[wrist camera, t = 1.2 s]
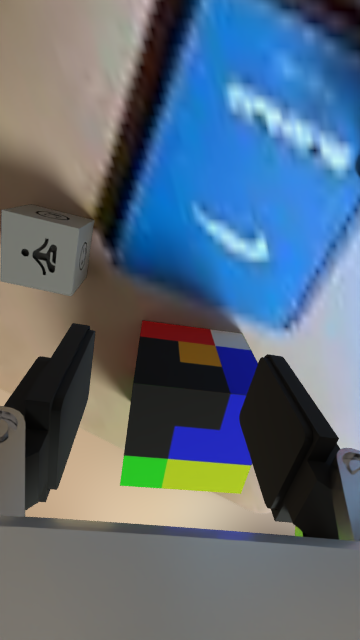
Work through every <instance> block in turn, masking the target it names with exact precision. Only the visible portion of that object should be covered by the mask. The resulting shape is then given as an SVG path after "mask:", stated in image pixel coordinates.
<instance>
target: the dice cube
mask: <svg viewBox="0 0 360 640" xmlns="http://www.w3.org/2000/svg"><path fill="white" fill-rule="evenodd" d="M93 225H94V220H92V219H88V218H84V217H80V216H76V215H72V214H68V213H64V212H60V211H56V210H52V209H48V208H44V207H40V206H36V205H32V204H30V205H25V206H20V207H14V208H9V209H3V210H2V215H1V281H2V282H6V283H11V284H16V285H20V286H25V287H30V288H35V289H39V290H44V291H49V292H54V293H58V294H63V295H68V296H72V295H73V294H74V292H75V291H76V290H77V289H78V287H79V286H80V285H81V283H82V282H83V281H84V280H85V278H86V277H87V270H88V262H89V255H90V247H91V240H92V232H93Z"/></svg>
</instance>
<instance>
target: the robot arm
mask: <svg viewBox="0 0 360 640" xmlns="http://www.w3.org/2000/svg"><path fill="white" fill-rule="evenodd" d="M94 340H95V331H93V330H90V326H87V325H81V324H75V323H73V324H72V325H71V327H70V328H69V330H68V331H67V333H66V335H65V336H64V338H63V339H62V341H61V343H60V344H59V346H58V347H57V349H56V351H55V352H54V354H53V355H52V357H51V358H48V357H38V358H37V359H36V361H35V362H34V364H33V365H32V367H31V368H30V369H29V371H28V372H27V374H26V375H25V376H24V378H23V379H22V381H21V382H20V384H19V385H18V386H17V388H16V389H15V391H14V392H13V394H12V395H11V396H10V398H9V399H8V401H7V402H6V404H5V405H4V406H0V640H360V451H359V450H355V449H352V448H343V449H340V448H339V446H338V445H337V441H338V439H339V438H338V437H337V435H336V434H335V432H334V431H333V429H332V428H331V426H330V425H329V423H328V422H327V420H326V419H325V417H324V416H323V415H322V413H321V412H320V410H319V409H318V407H317V406H316V404H315V403H314V401H313V400H312V398H311V397H310V395H309V394H308V393H307V391H306V390H305V388H304V387H303V385H302V384H301V382H300V381H299V379H298V378H297V376H296V375H295V373H294V372H293V371H292V369H291V368H290V366H289V365H288V363H287V362H286V360H285V359H284V358H283V357H281V356H275V355H268V354H267V355H266V356H265V357H264V358H263V357H262V358H261V359H260V360H259V362H258V365H257V368H256V371H255V373H254V376H253V379H252V381H251V384H250V387H249V390H248V392H247V395H246V398H245V400H244V403H243V406H242V408H241V411H240V415H239V422H240V426H241V429H242V432H243V435H244V438H245V442H246V445H247V448H248V451H249V454H250V457H251V460H252V464H253V467H254V470H255V473H256V476H257V479H258V483H259V486H260V489H261V492H262V495H263V498H264V501H265V504H266V506H267V508H270V509H271V511H272V514H273V517H274V520H275V521H279V522H292V523H293V524H294V525H295V526H296V527H295V536H288V535H274V534H262V533H249V532H236V531H223V530H210V529H197V528H184V527H170V526H156V525H142V524H128V523H114V522H113V523H112V522H100V521H86V520H72V519H57V518H38V517H25V510H27V509H28V508H30V507H32V506H33V505H34V504H36V503H38V502H46V500H47V497H48V494H49V491H50V489H55V490H56V489H57V488H58V486H59V483H60V480H61V477H62V474H63V472H64V469H65V465H66V462H67V459H68V457H69V454H70V451H71V448H72V445H73V442H74V439H75V436H76V433H77V430H78V427H79V424H80V421H81V419H82V416H83V413H84V410H85V407H86V404H87V400H88V395H89V387H90V378H91V368H92V359H93V349H94Z"/></svg>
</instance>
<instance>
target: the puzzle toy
mask: <svg viewBox="0 0 360 640" xmlns="http://www.w3.org/2000/svg"><path fill="white" fill-rule="evenodd" d="M257 365H258V363H257V361H256V359H255V357H254V355H253V353H252V351H251V349H250V347H249V345H248V343H247V341H246V339H245V338H244V336H243V334H242V333H234V332H227V331H219V330H211V329H204V328H196V327H188V326H181V325H173V324H165V323H158V322H150V321H142V327H141V334H140V341H139V348H138V355H137V361H136V368H135V375H134V382H133V390H132V398H131V405H130V413H129V421H128V428H127V436H126V444H125V452H124V459H123V467H122V475H121V482H120V486H135V487H150V488H165V489H180V490H195V491H209V492H224V493H239V494H241V491H242V489H243V486H244V483H245V481H246V478H247V475H248V473H249V470H250V467H251V465H252V460H251V457H250V454H249V451H248V448H247V445H246V442H245V438H244V435H243V432H242V429H241V426H240V422H239V415H240V411H241V408H242V406H243V403H244V400H245V398H246V395H247V392H248V390H249V387H250V384H251V381H252V379H253V376H254V373H255V371H256V368H257Z"/></svg>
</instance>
